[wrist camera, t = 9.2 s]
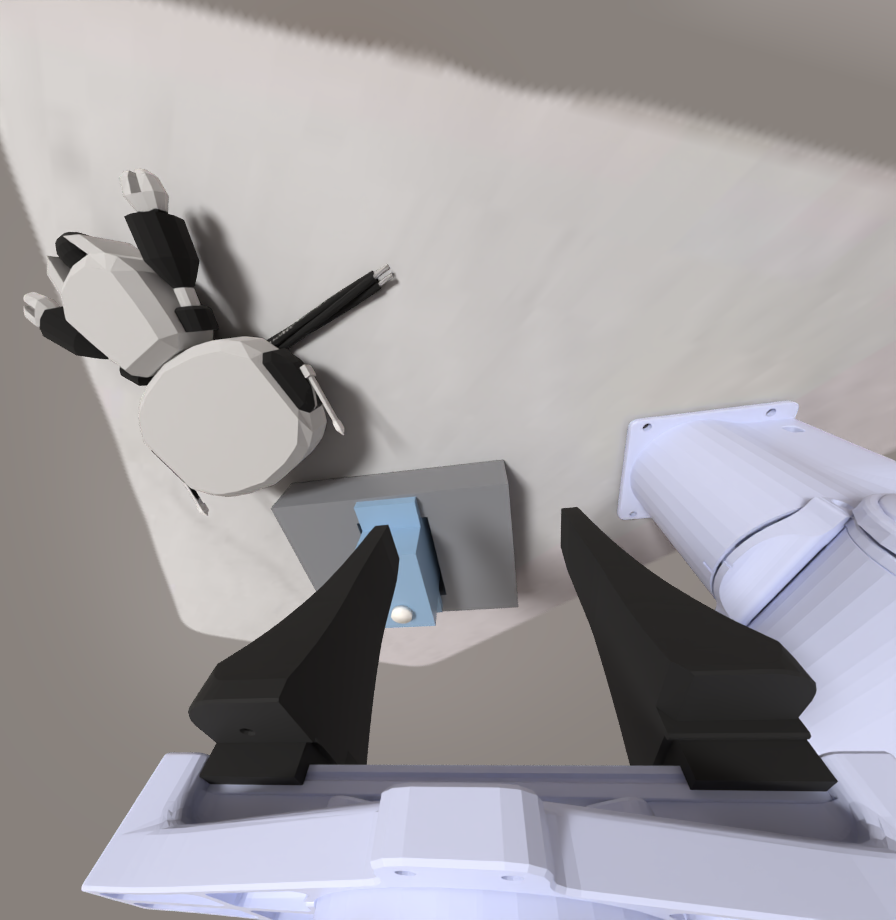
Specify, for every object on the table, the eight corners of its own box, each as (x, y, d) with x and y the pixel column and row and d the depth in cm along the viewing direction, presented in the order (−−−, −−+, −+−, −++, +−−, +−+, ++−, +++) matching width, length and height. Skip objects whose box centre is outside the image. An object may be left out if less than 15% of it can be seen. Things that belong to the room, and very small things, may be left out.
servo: (420, 475, 22) (407, 533, 17) (444, 580, 28) (439, 647, 23) (367, 481, 23) (338, 538, 18) (400, 582, 28) (386, 649, 23)
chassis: (503, 459, 22) (508, 483, 19) (513, 576, 28) (518, 607, 25) (291, 483, 24) (270, 508, 21) (342, 588, 30) (330, 617, 27)
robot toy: (72, 307, 19) (248, 492, 24) (-36, 308, 15) (202, 528, 20) (196, 169, 16) (372, 418, 21) (98, 122, 12) (346, 445, 17)
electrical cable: (386, 260, 17) (383, 260, 16) (397, 279, 17) (394, 280, 16) (227, 366, 20) (217, 370, 19) (240, 380, 21) (230, 385, 20)
